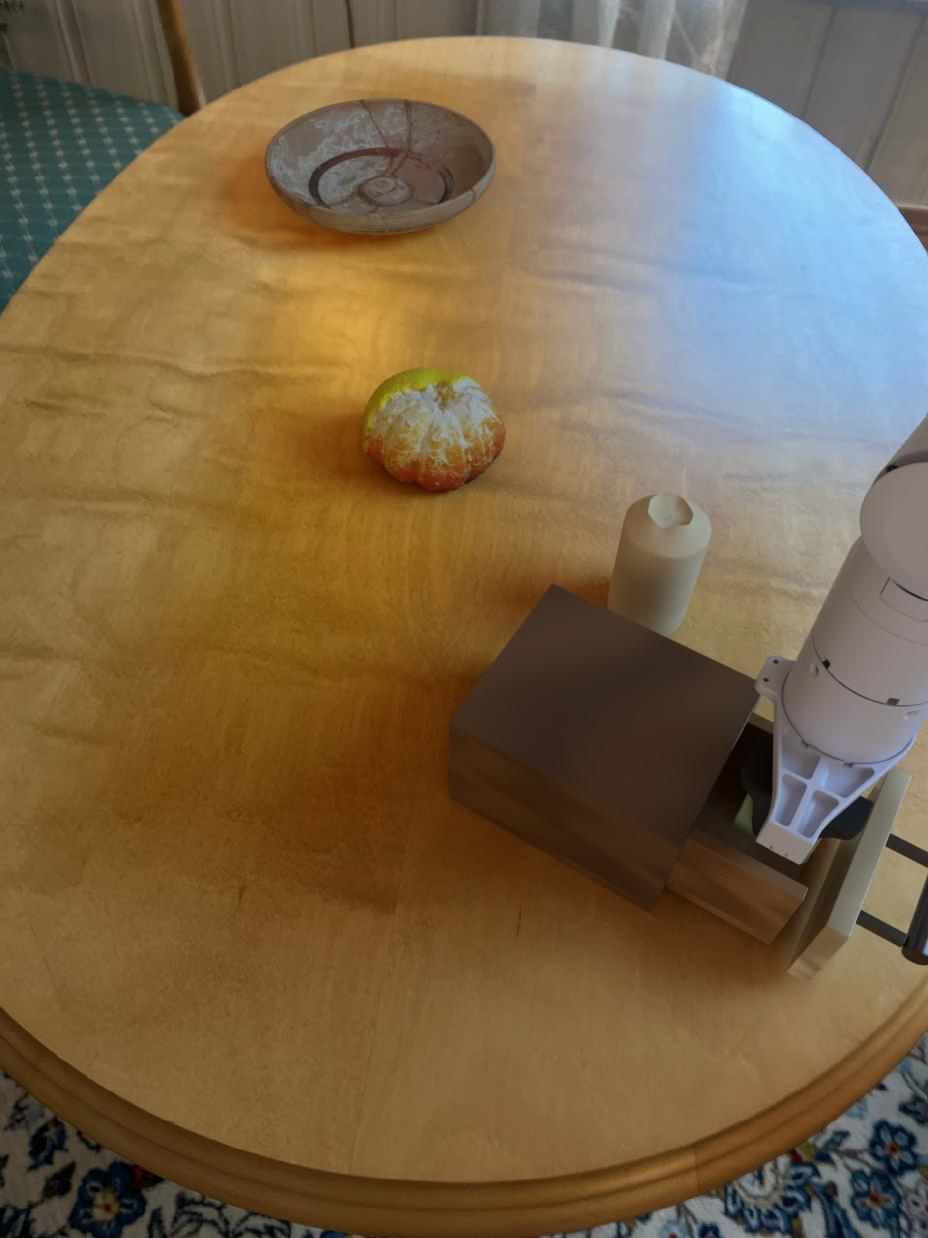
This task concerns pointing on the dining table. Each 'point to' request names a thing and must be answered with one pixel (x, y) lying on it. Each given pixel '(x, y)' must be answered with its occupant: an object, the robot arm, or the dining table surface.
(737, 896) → the drawer
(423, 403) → the fruit
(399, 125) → the ceramic bowl
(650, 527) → the beige bottle
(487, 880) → the dining table surface
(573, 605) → the cabinet
